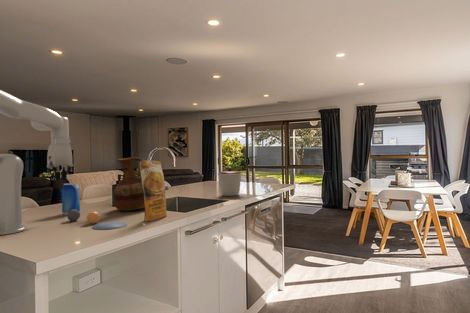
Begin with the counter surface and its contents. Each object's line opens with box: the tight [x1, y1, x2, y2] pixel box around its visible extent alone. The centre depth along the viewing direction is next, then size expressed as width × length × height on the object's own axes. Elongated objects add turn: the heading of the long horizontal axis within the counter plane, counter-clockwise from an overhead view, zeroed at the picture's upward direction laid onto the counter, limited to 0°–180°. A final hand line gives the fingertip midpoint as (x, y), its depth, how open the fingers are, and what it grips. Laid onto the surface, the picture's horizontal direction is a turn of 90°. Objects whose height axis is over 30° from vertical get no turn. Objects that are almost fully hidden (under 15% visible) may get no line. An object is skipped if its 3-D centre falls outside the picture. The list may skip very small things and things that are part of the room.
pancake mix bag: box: [138, 159, 168, 222], centre depth 143 cm, size 7×19×28 cm, turn 157°
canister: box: [217, 166, 243, 197], centre depth 222 cm, size 18×18×21 cm
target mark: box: [91, 221, 128, 231], centre depth 129 cm, size 14×14×1 cm
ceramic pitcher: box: [113, 156, 145, 211], centre depth 169 cm, size 20×20×30 cm
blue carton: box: [61, 182, 81, 216], centre depth 159 cm, size 8×8×16 cm
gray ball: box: [66, 209, 81, 222], centre depth 141 cm, size 6×6×6 cm
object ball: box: [85, 210, 101, 225], centre depth 134 cm, size 6×6×6 cm
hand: (60, 179), depth 145 cm, fingers closed
